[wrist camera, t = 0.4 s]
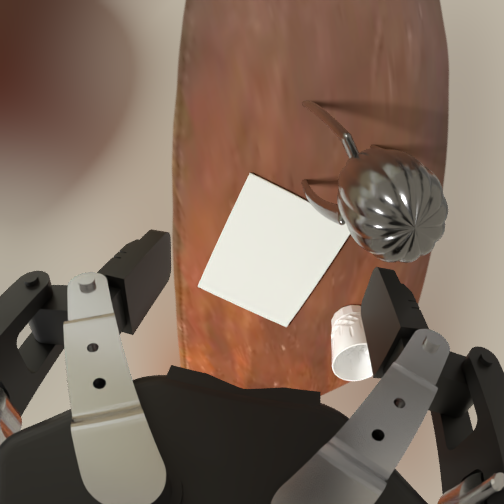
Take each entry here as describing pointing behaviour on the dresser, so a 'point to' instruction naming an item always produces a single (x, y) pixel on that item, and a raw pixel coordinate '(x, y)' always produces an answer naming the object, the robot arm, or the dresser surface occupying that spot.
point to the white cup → (349, 345)
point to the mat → (271, 251)
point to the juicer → (383, 199)
